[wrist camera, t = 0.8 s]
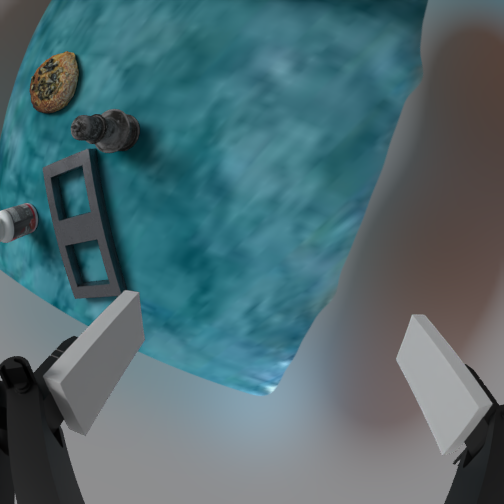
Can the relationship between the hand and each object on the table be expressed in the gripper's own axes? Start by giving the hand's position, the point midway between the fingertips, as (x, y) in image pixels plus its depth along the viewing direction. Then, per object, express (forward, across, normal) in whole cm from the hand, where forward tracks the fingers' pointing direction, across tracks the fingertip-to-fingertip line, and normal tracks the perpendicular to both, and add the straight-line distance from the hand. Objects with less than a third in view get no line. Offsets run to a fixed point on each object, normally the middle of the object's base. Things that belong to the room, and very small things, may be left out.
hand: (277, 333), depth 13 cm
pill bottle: (+26, -42, -2) cm, 49 cm away
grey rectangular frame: (+26, -28, -3) cm, 38 cm away
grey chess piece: (+26, -21, +11) cm, 35 cm away
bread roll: (+26, -36, +21) cm, 49 cm away
